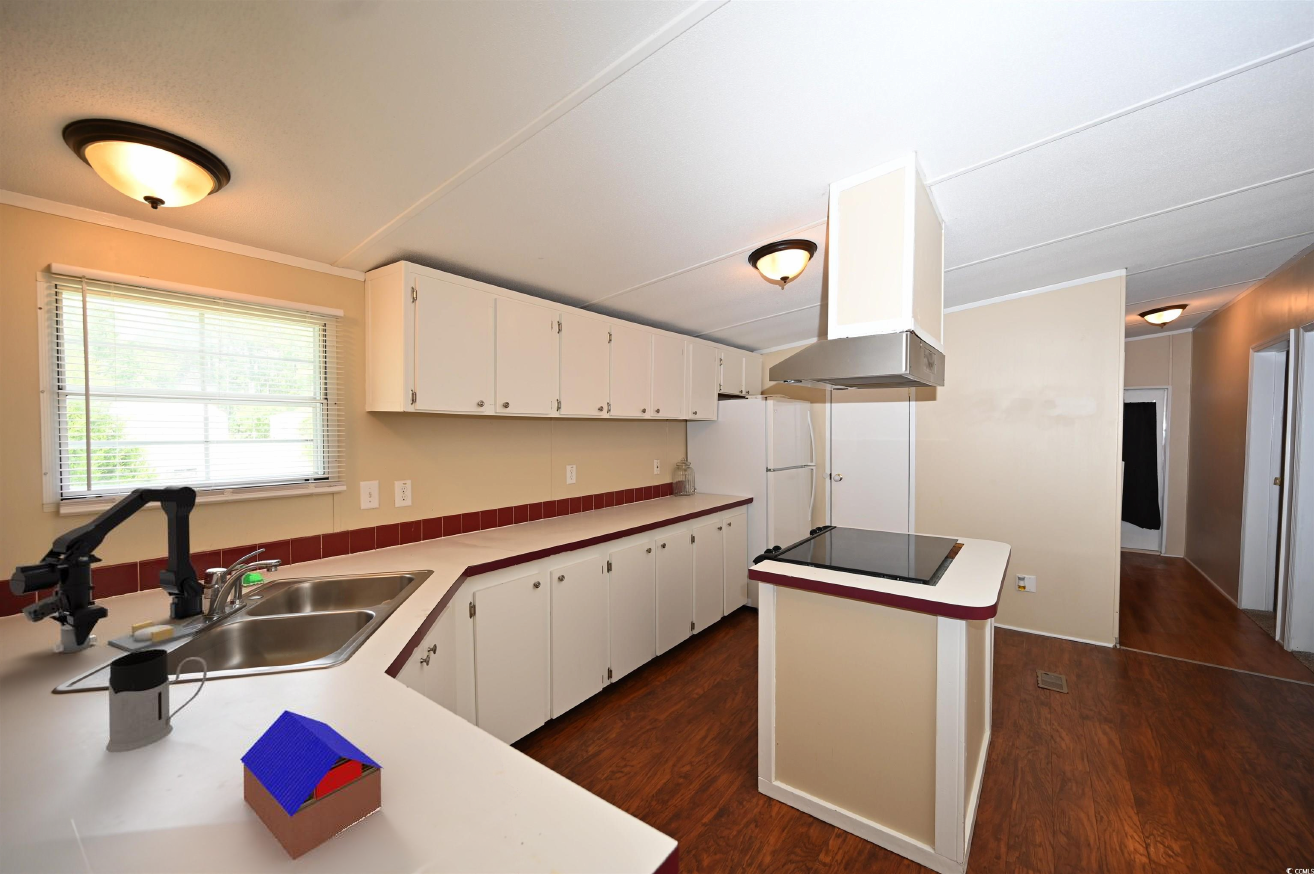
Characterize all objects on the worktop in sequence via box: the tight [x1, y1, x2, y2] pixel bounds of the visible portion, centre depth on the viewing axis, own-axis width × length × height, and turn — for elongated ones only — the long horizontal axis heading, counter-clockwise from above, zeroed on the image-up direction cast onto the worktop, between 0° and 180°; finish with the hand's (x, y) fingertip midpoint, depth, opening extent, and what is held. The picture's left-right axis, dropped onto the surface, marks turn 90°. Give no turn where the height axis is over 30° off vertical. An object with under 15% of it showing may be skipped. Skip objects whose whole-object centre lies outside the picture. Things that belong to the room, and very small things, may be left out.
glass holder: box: [105, 648, 208, 753], centre depth 96 cm, size 9×14×15 cm, turn 112°
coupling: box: [53, 625, 98, 654], centre depth 133 cm, size 7×5×6 cm
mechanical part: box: [243, 573, 264, 584], centre depth 191 cm, size 12×6×8 cm, turn 45°
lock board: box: [107, 620, 196, 653], centre depth 140 cm, size 13×13×4 cm
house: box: [239, 709, 385, 861], centre depth 78 cm, size 12×20×12 cm, turn 54°
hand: (75, 643), depth 133 cm, fingers closed on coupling, 5 cm apart
